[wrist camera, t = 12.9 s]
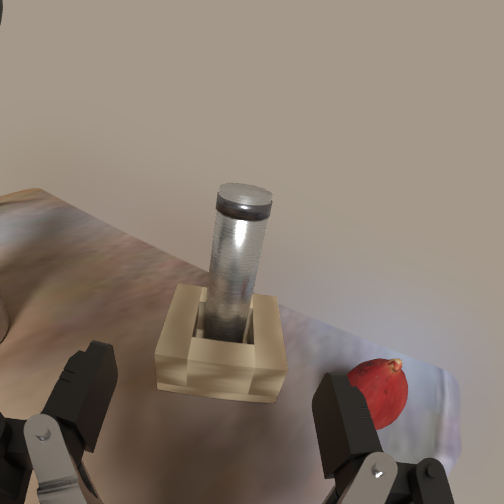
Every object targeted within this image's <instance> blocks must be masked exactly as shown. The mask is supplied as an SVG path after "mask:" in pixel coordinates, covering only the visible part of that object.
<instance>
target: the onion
mask: <svg viewBox="0 0 504 504" xmlns="http://www.w3.org/2000/svg"><path fill="white" fill-rule="evenodd" d="M401 368H402V362H401V360H400V359H391V360H387V359H374V360H370V361H366V362H363V363H361V364H359V365H358V366H356V367H355V368H354V369H352V370H351V371H350V372H349V373H348V374H347V376H348V379H349V382H350V385H351V386H357V387H358V389H359V390H360V391H361V392H362V393H363V395H364V396H365V399H366V402H367V405H368V409H369V411H370V414H371V418H372V420H373V423H374V426H375V429H376V430H378V429H382V428H384V427H386V426H388V425H390V424H391V423H392V422H394V421H395V420H396V419H397V418H398V416H399V415H400V413H401V412H402V410H403V409H404V407H405V405H406V401H407V396H408V384H407V380H406V377H405V374H404V372H403V371H402V370H401Z"/></svg>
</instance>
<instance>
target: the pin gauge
mask: <svg viewBox="0 0 504 504" xmlns="http://www.w3.org/2000/svg"><path fill="white" fill-rule="evenodd" d="M271 199H272V193H271V192H269V191H267V190H266V189H263V188H260V187H256V186H252V185H247V184H239V183H227V184H223V185H221V186H220V191H219V192H218V195H217V202H216V209H217V213H216V221H215V228H214V236H213V244H212V252H211V261H210V269H209V278H208V287H207V297H206V306H205V316H204V327H203V338H202V339H210V340H217V341H225V342H233V343H241V344H242V343H243V338H244V333H245V328H246V323H247V318H248V313H249V309H250V304H251V299H252V294H253V289H254V284H255V279H256V274H257V268H258V264H259V259H260V254H261V249H262V244H263V239H264V234H265V229H266V224H267V219H268V218H269V216H270V211H271V206H272V200H271Z"/></svg>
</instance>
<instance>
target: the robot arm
mask: <svg viewBox="0 0 504 504" xmlns="http://www.w3.org/2000/svg"><path fill="white" fill-rule="evenodd" d="M2 11H3V3H2V0H0V24H1V18H2ZM8 327H9V316H8V314H7V311H6V308H5V304H4V301H3V298H2V295H1V291H0V342H1V341H2V340H3V338H4V336H5V335H6V333H7V330H8ZM117 378H118V370H117V365H116V360H115V355H114V350H113V346H112V345H111V344H106V343H102V342H98V341H94V340H93V341H92V342H91V343H90V345H89V347H88V349H87V350H86V352H83V351H78V352H77V353H75V354H74V355H73V356H72V357H70V358H69V360H68V362H67V364H66V365H65V367H64V371H62V373H61V375H60V377H59V380H58V381H57V383H56V385H55V387H54V389H53V391H52V393H51V395H50V397H49V399H48V401H47V403H46V405H45V407H44V409H43V411H42V412H41V413H40V414H37V415H34V416H32V417H30V418H29V419H28V420H19V419H11V418H5V417H4V416H3V415H2V414H1V412H0V504H24V502H25V497H26V493H27V489H28V485H29V481H30V477H31V474H32V470H34V471H35V475H36V477H37V480H38V484H39V488H38V489H37V496H38V499H39V502H40V504H104V503H103V502H102V500H101V498H100V497H99V495H98V493H97V491H96V489H95V487H94V485H93V483H92V481H91V478H90V476H89V474H88V472H87V470H86V467H85V465H84V463H83V461H82V456H83V453H84V450H85V451H88V452H91V453H93V452H94V449H95V446H96V443H97V439H98V436H99V433H100V430H101V427H102V424H103V421H104V418H105V415H106V412H107V409H108V406H109V403H110V401H111V398H112V395H113V392H114V389H115V387H116V383H117ZM312 412H313V417H314V423H315V428H316V433H317V439H318V444H319V450H320V455H321V461H322V466H323V472H324V478H325V479H330V478H335V485H334V486H333V488H332V489H331V491H330V492H329V494H328V496H327V497H326V499H325V500H324V502H323V503H322V504H454V500H453V497H452V493H451V490H450V486H449V483H448V480H447V476H446V473H445V470H444V467H443V465H442V464H441V463H440V462H439V461H438V460H436V459H434V458H426V459H423V460H422V461H421V462H419V463H418V464H409V463H400V462H396V461H395V460H394V459H393V458H392V457H391V456H390V455H388V454H386V453H384V452H383V450H382V447H381V444H380V441H379V438H378V435H377V432H376V429H375V426H374V423H373V420H372V418H371V414H370V411H369V409H368V405H367V402H366V399H365V396H364V395H363V393H362V392H361V391H360V390H359V389H358V387H357V386H351V385H350V382H349V379H348V376H347V374H345V373H326V374H325V375H324V377H323V379H322V381H321V383H320V385H319V387H318V389H317V390H316V392H315V394H314V396H313V400H312Z"/></svg>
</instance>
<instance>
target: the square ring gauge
mask: <svg viewBox="0 0 504 504" xmlns="http://www.w3.org/2000/svg"><path fill="white" fill-rule="evenodd" d="M206 297H207V287H201V286H194V285H187V284H181V283H178V285H177V288H176V291H175V294H174V296H173V299H172V302H171V305H170V308H169V311H168V314H167V317H166V320H165V322H164V325H163V328H162V331H161V334H160V337H159V341H158V344H157V347H156V350H155V353H154V356H155V369H156V381H157V389H160V390H165V391H170V392H176V393H182V394H189V395H195V396H202V397H210V398H218V399H227V400H237V401H249V402H263V403H275V402H276V399H277V397H278V394H279V392H280V389H281V387H282V384H283V382H284V379H285V377H286V374H287V371H288V366H287V360H286V353H285V347H284V340H283V334H282V327H281V321H280V314H279V308H278V302H277V297H276V296H268V295H260V294H252V299H251V304H250V309H249V313H248V318H247V323H246V328H245V333H244V338H243V343H242V344H241V343H233V342H225V341H217V340H210V339H202V338H203V327H204V316H205V306H206Z"/></svg>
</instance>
